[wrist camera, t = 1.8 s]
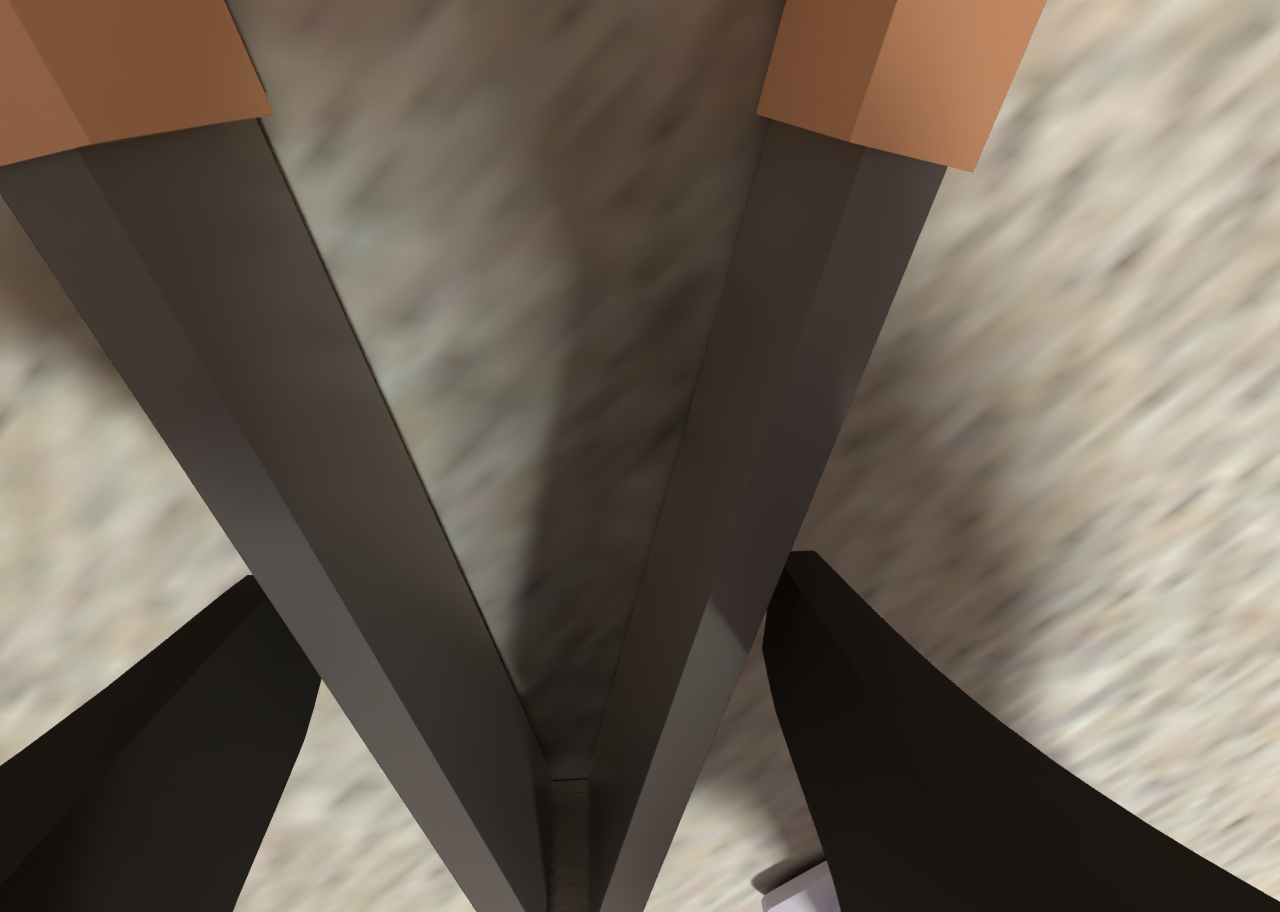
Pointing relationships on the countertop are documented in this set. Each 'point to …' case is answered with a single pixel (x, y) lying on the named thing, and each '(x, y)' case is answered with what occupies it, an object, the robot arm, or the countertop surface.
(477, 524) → the countertop surface
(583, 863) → the tongs hub
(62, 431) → the countertop surface
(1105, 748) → the countertop surface
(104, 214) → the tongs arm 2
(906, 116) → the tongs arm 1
